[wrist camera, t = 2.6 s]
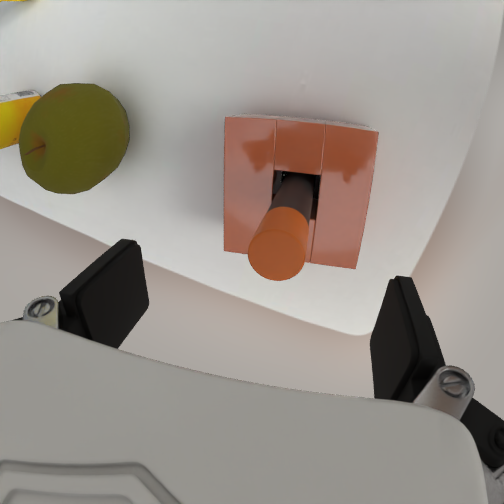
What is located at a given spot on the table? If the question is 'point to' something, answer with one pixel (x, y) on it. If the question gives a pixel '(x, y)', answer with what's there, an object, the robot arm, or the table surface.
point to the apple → (73, 138)
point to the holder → (301, 161)
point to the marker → (284, 230)
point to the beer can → (14, 115)
